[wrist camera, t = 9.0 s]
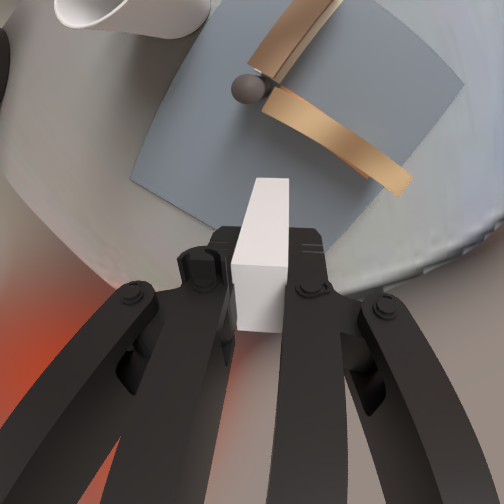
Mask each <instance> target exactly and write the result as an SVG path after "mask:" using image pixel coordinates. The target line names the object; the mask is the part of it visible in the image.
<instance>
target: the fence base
mask: <svg viewBox="0 0 504 504" xmlns="http://www.w3.org/2000/svg"><path fill="white" fill-rule="evenodd" d="M333 1H334V0H293V1H292V3H291V4H290V5H289V6H288V8H287V9H286V10H285V11H284V13H283V14H282V15H281V17H280V18H279V19H278V20H277V22H276V23H275V24H274V26H273V27H272V28H271V30H270V31H269V33H268V34H267V35H266V37H265V38H264V39H263V41H262V42H261V44H260V45H259V46H258V48H257V49H256V51H255V52H254V54H253V55H252V57H251V58H250V60H249V61H248V62H247V64H248V65H250V66H252V67H253V68H255V69H257V70H259V71H261V72H262V73H264V74H266V75H268V76H269V77H271V78H275V77H276V75H277V74H278V72H279V71H280V70H281V68H282V67H283V65H284V64H285V63H286V61H287V60H288V59H289V57H290V56H291V54H292V53H293V52H294V50H295V49H296V48H297V46H298V45H299V44H300V42H301V41H302V40H303V38H304V37H305V36H306V34H307V33H308V32H309V31H310V29H311V28H312V27H313V25H314V24H315V23H316V22H317V20H318V19H319V18H320V17H321V15H322V14H323V13H324V12H325V10H326V9H327V8H328V7H329V6H330V4H331V3H332V2H333ZM270 92H271V84H270V82H269V81H268V80H267V79H266V78H264V77H260V76H256V75H252V74H243V75H240V76H238V77H237V78H236V79H235V80H234V81H233V83H232V85H231V93H232V95H233V97H234V99H235V100H237V101H238V102H240V103H242V104H253V103H255V102H257V101H259V100H262V99H264V98H266V97H267V96H268V95H269V94H270Z"/></svg>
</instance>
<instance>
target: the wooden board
mask: <svg viewBox="0 0 504 504" xmlns="http://www.w3.org/2000/svg"><path fill="white" fill-rule="evenodd" d="M262 112H264V113H266V114H268V115H269V116H271V117H273V118H275V119H277V120H279V121H281V122H283V123H285V124H286V125H288V126H290V127H292V128H294V129H296V130H297V131H299V132H301V133H303V134H304V135H306V136H308V137H310V138H311V139H313V140H315V141H316V142H318V143H320V144H321V145H323V146H325V147H326V148H328V149H329V150H331V151H333V152H334V153H336V154H337V155H339V156H341V157H342V158H344V159H345V160H347V161H348V162H350V163H351V164H353V165H354V166H356V167H357V168H359V169H360V170H362V171H363V172H365V173H366V174H368V175H369V176H370V177H372V178H373V179H375V180H376V181H377V182H379V183H380V184H382V185H383V186H384V187H386V188H387V189H388V190H390V191H391V192H392V193H394V194H395V195H396V196H398V197H399V196H400V195H401V194H402V192H403V191H404V190H405V188H406V187H407V185H408V184H409V183H410V181H411V180H412V179H413V177H412V176H411V175H410V174H409V173H408V172H407V171H405V170H404V169H403V168H402V167H400V166H399V165H398V164H397V163H395V162H394V161H393V160H391V159H390V158H389V157H387V156H386V155H385V154H384V153H382V152H381V151H379V150H378V149H377V148H375V147H374V146H373V145H371V144H370V143H368V142H367V141H366V140H364V139H363V138H361V137H360V136H358V135H357V134H355V133H354V132H352V131H351V130H349V129H348V128H346V127H345V126H343V125H342V124H340V123H339V122H337V121H335V120H334V119H332V118H331V117H329V116H327V115H326V114H324V113H322V112H321V111H319V110H317V109H316V108H314V107H312V106H310V105H309V104H307V103H305V102H303V101H302V100H300V99H298V98H296V97H294V96H292V95H291V94H289V93H287V92H285V91H283V90H281V89H279V88H277V87H275V88H274V89H273V91H272V93H271V95H270V96H269V98H268V100H267V102H266V103H265V105H264V107H263V109H262Z"/></svg>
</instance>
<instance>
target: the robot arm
mask: <svg viewBox="0 0 504 504" xmlns="http://www.w3.org/2000/svg"><path fill="white" fill-rule="evenodd" d="M9 58H10V52H9V42H8V38H7V35H6V33H5V31H4V30H3V29H1V28H0V102H1V99H2V96H3V93H4V90H5V86H6V82H7V76H8V70H9ZM177 262H178V266H179V271H180V275H181V279H182V284H181V287H179V288H176V289H171V290H165V291H159V292H155V290H154V288H153V287H152V285H151V284H149V283H148V282H146V281H132V282H129V283H126V284H124V285H122V286H121V287H120V288H118V289H117V290H116V291H115V292H114V293H113V294H112V295H111V296H110V297H109V298H108V299H107V300H106V301H105V303H104V304H103V305H102V306H101V307H100V308H99V309H98V310H97V311H96V312H95V313H94V314H93V315H92V316H91V318H90V319H89V320H88V321H87V322H86V323H85V324H84V325H83V326H82V327H81V329H80V330H79V331H78V332H77V333H76V334H75V335H74V336H73V338H72V339H71V340H70V341H69V342H68V343H67V344H66V346H65V347H64V348H63V349H62V350H61V352H60V353H59V354H58V355H57V356H56V357H55V358H54V360H53V361H52V362H51V363H50V365H49V366H48V367H47V368H46V369H45V371H44V372H43V373H42V374H41V375H40V377H39V378H38V379H37V380H36V382H35V383H34V384H33V386H32V387H31V388H30V389H29V391H28V392H27V393H26V395H25V396H24V397H23V399H22V400H21V401H20V402H19V404H18V405H17V406H16V408H15V409H14V411H13V412H12V413H11V415H10V416H9V417H8V419H7V420H6V422H5V423H4V425H3V426H2V427H1V429H0V504H77V503H78V501H79V500H80V498H81V496H82V495H83V493H84V492H85V490H86V489H87V487H88V485H89V484H90V482H91V481H92V479H93V478H94V476H95V475H96V473H97V472H98V470H99V468H100V467H101V465H102V464H103V462H104V461H105V459H106V458H107V456H108V455H109V453H110V452H111V450H112V448H113V447H114V445H115V444H116V442H117V441H118V439H119V438H120V436H121V438H120V441H119V444H118V446H117V450H116V452H115V456H114V459H113V462H112V465H111V468H110V471H109V474H108V478H107V481H106V484H105V487H104V491H103V494H102V498H101V501H100V504H204V500H205V495H206V490H207V484H208V479H209V475H210V470H211V464H212V459H213V454H214V449H215V444H216V438H217V434H218V428H219V424H220V419H221V413H222V409H223V403H224V398H225V393H226V388H227V383H228V377H229V373H230V368H231V362H232V357H233V352H234V347H235V335H234V331H235V326H236V322H237V330H242V331H256V332H271V333H282V343H281V355H280V370H279V383H278V395H277V407H276V417H275V428H274V437H273V447H272V456H271V466H270V474H269V482H268V490H267V498H266V504H347V487H348V449H347V448H348V447H347V446H348V445H347V417H346V416H347V415H346V397H345V383H344V376H345V379H346V382H347V384H348V387H349V390H350V393H351V396H352V398H353V401H354V404H355V407H356V410H357V412H358V416H359V419H360V422H361V424H362V427H363V430H364V433H365V436H366V439H367V442H368V446H369V448H370V452H371V455H372V458H373V461H374V464H375V468H376V471H377V474H378V477H379V480H380V484H381V487H382V491H383V494H384V498H385V501H386V504H500V502H499V499H498V495H497V492H496V488H495V485H494V482H493V479H492V476H491V473H490V470H489V468H488V465H487V463H486V459H485V457H484V454H483V452H482V449H481V447H480V444H479V442H478V439H477V437H476V435H475V432H474V430H473V428H472V426H471V423H470V421H469V419H468V417H467V415H466V413H465V410H464V408H463V406H462V404H461V402H460V400H459V398H458V396H457V394H456V392H455V390H454V388H453V386H452V384H451V382H450V381H449V378H448V377H447V375H446V373H445V371H444V369H443V367H442V366H441V364H440V362H439V360H438V358H437V357H436V355H435V353H434V351H433V350H432V348H431V346H430V345H429V343H428V341H427V339H426V338H425V336H424V335H423V333H422V331H421V330H420V328H419V327H418V325H417V323H416V321H415V320H414V319H413V317H412V315H411V314H410V312H409V311H408V309H407V307H406V306H405V305H404V303H403V302H402V301H401V300H400V299H398V298H397V297H395V296H393V295H391V294H387V293H373V294H370V295H368V296H367V297H366V298H365V299H364V300H363V302H361V301H357V300H353V299H350V298H347V297H344V296H342V295H340V294H339V293H337V292H336V291H335V290H334V289H333V286H332V284H331V283H330V282H329V281H328V276H327V269H326V262H325V255H324V249H323V243H322V237H321V235H320V234H319V233H318V231H317V230H316V229H315V228H297V227H289V178H256V181H255V184H254V188H253V191H252V194H251V197H250V201H249V204H248V207H247V211H246V214H245V217H244V221H243V224H242V226H221V227H220V228H219V229H217V230H216V231H215V232H214V233H213V235H212V237H211V239H210V242H209V244H208V246H197V247H194V248H191V249H188V250H186V251H185V252H183V253H181V254H180V256H179V257H178V258H177Z"/></svg>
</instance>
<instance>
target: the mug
mask: <svg viewBox="0 0 504 504" xmlns="http://www.w3.org/2000/svg"><path fill="white" fill-rule="evenodd" d="M54 9H55V13H56V16H57V18H58V20H59V21H60V22H61V23H62V24H63V25H65V26H66V27H69V28H73V29H91V30H105V31H116V32H125V33H133V34H139V35H145V36H151V37H158V38H163V39H177V38H181V37H184V36H187V35H189V34H191V33H192V32H194V31H195V30H197V29H198V28H199V27H200V26H201V25H202V24H203V23H204V21H205V20H206V18H207V16H208V14H209V11H210V0H54Z"/></svg>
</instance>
